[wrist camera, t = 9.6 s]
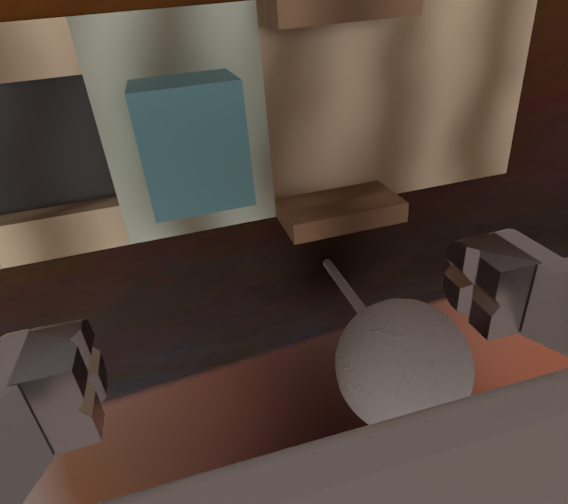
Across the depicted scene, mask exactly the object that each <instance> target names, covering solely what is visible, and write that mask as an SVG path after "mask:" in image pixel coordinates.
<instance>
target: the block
mask: <svg viewBox="0 0 568 504" xmlns="http://www.w3.org/2000/svg"><path fill="white" fill-rule="evenodd" d="M125 98H126V102H127V106H128V111H129V115H130V119H131V123H132V127H133V131H134V135H135V139H136V143H137V147H138V151H139V155H140V159H141V164H142V168H143V172H144V176H145V180H146V184H147V188H148V192H149V196H150V200H151V204H152V208H153V212H154V217H155V221H156V223H160V222H165V221H171V220H176V219H182V218H187V217H193V216H198V215H204V214H209V213H215V212H220V211H225V210H231V209H236V208H242V207H247V206H253V205H256V197H255V188H254V180H253V171H252V163H251V154H250V146H249V137H248V129H247V120H246V112H245V103H244V94H243V86H242V79H240V78H239V77H237V76H236V75H234V74H233V73H232V72H230V71H229V70H227V69H226V68H223V69H215V70H206V71H198V72H190V73H181V74H173V75H164V76H156V77H147V78H139V79H131V80H127V84H126V89H125Z"/></svg>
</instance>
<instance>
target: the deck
mask: <svg viewBox="0 0 568 504" xmlns="http://www.w3.org/2000/svg"><path fill="white" fill-rule="evenodd" d="M536 6H537V0H251V1H239V2H228V3H216V4H205V5H194V6H182V7H171V8H159V9H148V10H137V11H125V12H114V13H102V14H91V15H80V16H68V17H57V18H45V19H34V20H23V21H11V22H0V269H3V268H8V267H14V266H19V265H24V264H29V263H35V262H40V261H45V260H51V259H56V258H61V257H66V256H72V255H77V254H82V253H87V252H93V251H98V250H103V249H108V248H114V247H119V246H124V245H130V244H135V243H140V242H145V241H151V240H156V239H161V238H166V237H172V236H177V235H182V234H187V233H193V232H198V231H203V230H209V229H214V228H219V227H224V226H230V225H235V224H240V223H245V222H251V221H256V220H261V219H266V218H272V217H277V219H278V220H279V222H280V223H281V225H282V226H283V228H284V229H285V231H286V233H287V234H288V236H289V237H290V239H291V240H292V242H293V243H294V245H296V244H301V243H306V242H311V241H316V240H321V239H325V238H330V237H335V236H340V235H345V234H350V233H355V232H360V231H365V230H369V229H374V228H379V227H384V226H389V225H394V224H399V223H404V222H408V210H409V203H408V202H407V201H406V200H404V199H403V198H401V197H400V196H399V195H397V194H398V193H403V192H409V191H414V190H419V189H424V188H430V187H435V186H440V185H446V184H451V183H456V182H461V181H467V180H472V179H477V178H482V177H488V176H493V175H498V174H503V173H506V171H507V166H508V160H509V155H510V149H511V144H512V138H513V132H514V127H515V121H516V116H517V110H518V105H519V99H520V94H521V88H522V83H523V77H524V72H525V66H526V61H527V55H528V50H529V44H530V39H531V33H532V28H533V22H534V17H535V11H536ZM223 68H226V69H227V70H229V71H230V72H232V73H233V74H234V75H236V76H237V77H239V78H240V79H242V86H243V94H244V103H245V112H246V120H247V129H248V137H249V146H250V154H251V163H252V171H253V180H254V188H255V197H256V205H253V206H247V207H242V208H236V209H231V210H225V211H220V212H215V213H209V214H204V215H198V216H193V217H187V218H182V219H176V220H171V221H165V222H160V223H156V221H155V217H154V212H153V208H152V204H151V200H150V196H149V192H148V188H147V184H146V180H145V176H144V172H143V168H142V164H141V159H140V155H139V151H138V147H137V143H136V139H135V135H134V131H133V127H132V123H131V119H130V115H129V111H128V106H127V102H126V98H125V89H126V84H127V80H131V79H139V78H147V77H156V76H164V75H173V74H181V73H190V72H198V71H206V70H215V69H223Z"/></svg>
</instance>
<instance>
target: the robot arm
mask: <svg viewBox="0 0 568 504" xmlns="http://www.w3.org/2000/svg"><path fill="white" fill-rule="evenodd" d="M446 258H447V260H448V261H449V263H450V264H451V266H450V267H449V269H448V270H447V271H446V273H445V274H444V284H443V287H444V291H445V295H446V298H447V300H448V301H449V303H450V305H451V306H452V307H453V308H454V309H455V310H456V311H458V312H461V313H463V314H466V315H469V324H471V325H472V326H473V327H474V328H475V329H476V330H477V331H478V332H479V333H480V334H481V335H482V336H483V337H484V338H485V339H486V340H492V339H496V338H500V337H505V336H509V335H513V334H518V333H521V335H523V336H525V337H527V338H529V339H531V340H533V341H536V342H538V343H540V344H542V345H544V346H546V347H548V348H550V349H553V350H555V351H557V352H559V353H561V354H563V355H566V356H568V258H562V257H560V256H559V255H557V254H555V253H554V252H552V251H550V250H549V249H547V248H545V247H544V246H542V245H540V244H539V243H537V242H535V241H534V240H532V239H530V238H529V237H527V236H525V235H523V234H522V233H520V232H518V231H517V230H515V229H504V230H500V231H496V232H492V233H489V234H485V235H481V236H477V237H472V238H468V239H464V240H459V241H455V242H451V244H450V246H449V247H448V251H447V257H446ZM93 341H94V333H93V330H92V328H91V325H90V323H89V321H88V320H86V319H80V320H74V321H69V322H64V323H59V324H53V325H48V326H43V327H38V328H33V329H27V330H22V331H17V332H13V333H8V334H5V335H3V336H1V337H0V504H22V503H23V502H24V500H25V499H26V497H27V496H28V495H29V493H30V492H31V490H32V489H33V487H34V486H35V485H36V483H37V482H38V481H39V479H40V478H41V476H42V475H43V474H44V472H45V471H46V469H47V468H48V466H49V465H50V464H51V462H52V461H53V459H54V458H55V457H54V455H57V454H61V453H64V452H67V451H71V450H74V449H78V448H81V447H85V446H88V445H92V444H95V443H98V442H102V434H103V426H104V417H105V413H104V411H103V408H102V405H101V403H102V401H103V400H104V399H105V398H106V397H107V386H108V385H107V372H106V368H105V363H104V360H103V357H102V354H101V351H99V350H97V349H96V348H94V347H93ZM96 504H568V368H567V369H563V370H560V371H556V372H553V373H549V374H546V375H542V376H539V377H535V378H532V379H528V380H525V381H521V382H518V383H514V384H510V385H507V386H503V387H500V388H496V389H493V390H489V391H486V392H483V393H479V394H475V395H472V396H468V397H465V398H461V399H458V400H454V401H451V402H447V403H444V404H440V405H437V406H433V407H430V408H426V409H423V410H419V411H416V412H412V413H409V414H406V415H402V416H399V417H395V418H392V419H388V420H385V421H381V422H378V423H374V424H371V425H368V426H364V427H360V428H357V429H353V430H350V431H347V432H343V433H340V434H337V435H333V436H329V437H326V438H323V439H319V440H315V441H312V442H308V443H305V444H301V445H298V446H295V447H292V448H288V449H284V450H281V451H277V452H274V453H271V454H267V455H263V456H260V457H256V458H253V459H249V460H246V461H243V462H239V463H236V464H232V465H228V466H225V467H222V468H218V469H215V470H211V471H208V472H204V473H201V474H197V475H194V476H190V477H187V478H183V479H180V480H176V481H173V482H169V483H166V484H163V485H159V486H155V487H152V488H148V489H145V490H142V491H138V492H135V493H131V494H128V495H124V496H121V497H117V498H114V499H110V500H107V501H103V502H100V503H96Z"/></svg>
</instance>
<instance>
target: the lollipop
mask: <svg viewBox="0 0 568 504" xmlns="http://www.w3.org/2000/svg"><path fill="white" fill-rule="evenodd" d="M323 265H324V267H325V268H326V270H327V271H328V273H329V274H330V275H331V277H332V278H333V280H334V281H335V282H336V284H337V285H338V287H339V288H340V289H341V291H342V292H343V294H344V295H345V296H346V298H347V299H348V301H349V302H350V303H351V305H352V306H353V308H354V309H355V311H356V312H357V313H358V314H357V315H356V316H355V317H354V318H353V319H352V320H351V321H350V323H349V324H348V325H347V326H346V328H345V330H344V331H343V333H342V335H341V337H340V340H339V344H338V347H337V350H336V360H335V365H336V375H337V380H338V384H339V387H340V391H341V393H342V394H343V396H344V398H345V400H346V402H347V403H348V404H349V406H350V407H351V409H352V410H353V411H354V412H355V413H356V414H357V415H358V416H359V417H360V418H361V419H362V420H363V421H365V422H366V423H367V424H369V425H371V424H374V423H378V422H381V421H385V420H388V419H392V418H395V417H399V416H402V415H406V414H409V413H412V412H416V411H419V410H423V409H426V408H430V407H433V406H437V405H440V404H444V403H447V402H451V401H454V400H458V399H461V398H465V397H468V396H470V395H471V391H472V387H473V382H474V362H473V357H472V354H471V350H470V347H469V345H468V343H467V340H466V338H465V337H464V335H463V333H462V332H461V330H460V329H459V328H458V327H457V326H456V324H455V323H454V322H453V321H452V320H451V319H450V318H449V317H448V316H446V315H445V314H444V313H443V312H441V311H439V310H438V309H436V308H434V307H433V306H431V305H428V304H426V303H424V302H422V301H418V300H413V299H397V298H393V299H386V300H385V301H381V302H378V303H375V304H373V305H371V306H369V307H367V308H366V307H365V305H364V304H363V303H362V301H361V300H360V299H359V297H358V296H357V295H356V293H355V292H354V291H353V289H352V288H351V287H350V285H349V284H348V283H347V282H346V280H345V279H344V278H343V276H342V275H341V274H340V272H339V271H338V270H337V268H336V267H335V266H334V264H333V263H332V262H331V260H330V259H325V260H324V261H323Z"/></svg>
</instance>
